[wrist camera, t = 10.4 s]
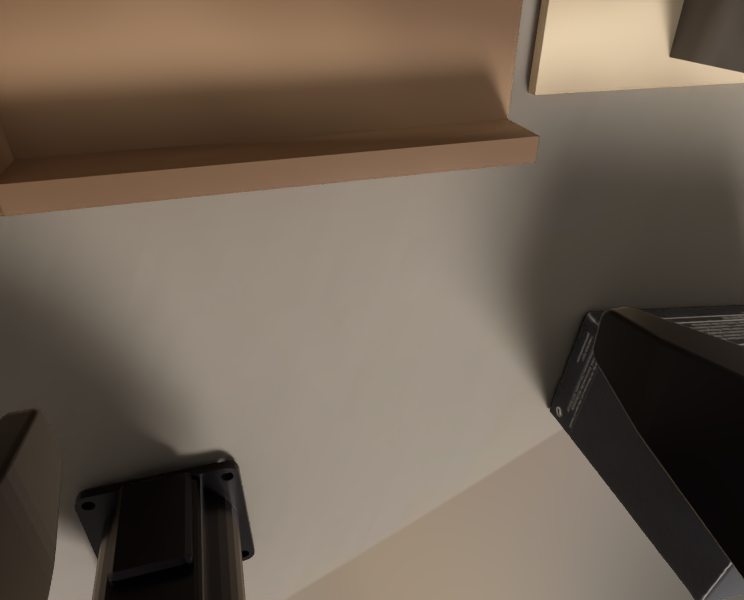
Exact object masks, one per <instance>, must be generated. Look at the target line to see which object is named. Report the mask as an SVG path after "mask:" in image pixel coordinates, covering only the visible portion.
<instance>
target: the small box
mask: <svg viewBox="0 0 744 600" xmlns="http://www.w3.org/2000/svg"><path fill="white" fill-rule="evenodd" d="M640 311H643V312H646V313H649V314H652V315H655V316H658V317H660V318H663V319H666V320H669V321H672V322H675V323H678V324H681V325H684V326H687V327H689V328H692V329H695V330H698V331H701V332H704V333H707V334H710V335H713V336H715V337H718V338H721V339H724V340H727V341H730V342H733V343H736V344H739V345H741V346H744V305H741V306H716V307H695V308H670V309H650V310H640ZM603 313H604V312H589V313H588V314H587V315H586V317H585V319H584V322H583V324H582V326H581V330H580V333H579V336H578V338H577V340H576V343H575V346H574V349H573V351H572V354H571V356H570V359H569V361H568V364H567V366H566V369H565V371H564V373H563V376H562V379H561V381H560V383H559V385H558V387H557V390H556V393H555V396H554V398H553V402H552V405H551V408H550V412H551V413H552V414H553V416H554V417H555V418H556V419H557V421H558V422H559V423H560V425H561V426H562V427H563V428H564V430H565V431H566V432H567V433H568V435H569V436H570V437H571V439H572V440H573V441H574V443H575V444H576V445H577V446H578V448H579V449H580V450H581V451H582V453H583V454H584V455H585V456H586V458H587V459H588V461H589V462H590V463H591V464H592V466H593V467H594V468H595V470H596V471H597V472H598V473H599V475H600V476H601V477H602V479H603V480H604V481H605V482H606V484H607V485H608V486H609V487H610V489H611V490H612V492H613V493H614V494H615V495H616V497H617V498H618V499H619V501H620V502H621V503H622V504H623V506H624V507H625V508H626V510H627V511H628V512H629V514H630V515H631V516H632V518H633V519H634V520H635V522H636V523H637V524H638V526H639V527H640V528H641V529H642V531H643V532H644V533H645V535H646V536H647V537H648V538H649V540H650V541H651V542H652V544H653V545H654V546H655V547H656V549H657V550H658V552H659V553H660V554H661V555H662V557H663V558H664V559H665V560H666V562H667V563H668V564H669V565H670V567H671V568H672V569H673V570H674V572H675V573H676V575H677V576H678V577H679V579H680V580H681V581H682V582H683V584H684V585H685V586H686V588H687V589H688V590H689V592H690V593H691V595H692V596H693V598H694V599H695V600H723V599H727V598H730V597H734V596H738V595H742V594H744V579H743V578H742V577H741V575H740V574H739V573H738V571H737V570H736V568H735V567H734V566H733V564H732V563H731V561H730V560H729V559H728V557H727V556H726V555H725V553H724V552H723V550H722V549H721V548H720V546H719V545H718V543H717V542H716V541H715V539H714V538H713V537H712V535H711V534H710V532H709V531H708V530H707V528H706V527H705V525H704V524H703V523H702V521H701V520H700V519H699V517H698V516H697V514H696V513H695V512H694V510H693V509H692V507H691V506H690V505H689V503H688V502H687V501H686V499H685V498H684V496H683V495H682V494H681V492H680V491H679V489H678V488H677V487H676V485H675V484H674V483H673V481H672V480H671V478H670V477H669V476H668V474H667V473H666V472H665V470H664V469H663V467H662V466H661V465H660V463H659V462H658V460H657V459H656V458H655V456H654V455H653V454H652V452H651V451H650V449H649V448H648V447H647V445H646V444H645V442H644V441H643V440H642V438H641V437H640V435H639V434H638V432H637V431H636V429H635V428H634V426H633V424H632V423H631V421H630V419H629V418H628V416H627V414H626V413H625V411H624V409H623V407H622V406H621V404H620V402H619V400H618V399H617V397H616V395H615V394H614V392H613V390H612V388H611V387H610V385H609V383H608V382H607V380H606V378H605V376H604V375H603V373H602V371H601V370H600V368H599V366H598V364H597V363H596V361H595V358H594V354H593V345H594V341H595V337H596V334H597V330H598V326H599V322H600V318H601V316H602V314H603Z"/></svg>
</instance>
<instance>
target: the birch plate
mask: <svg viewBox="0 0 744 600" xmlns="http://www.w3.org/2000/svg"><path fill="white" fill-rule="evenodd" d="M729 83H744V0H542V1H541V8H540V14H539V21H538V28H537V35H536V41H535V48H534V55H533V62H532V68H531V75H530V82H529V89H528V92H529V93H531V94H534V95H543V94H560V93H577V92H594V91H611V90H628V89H645V88H661V87H678V86H695V85H712V84H729Z"/></svg>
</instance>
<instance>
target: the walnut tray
mask: <svg viewBox="0 0 744 600" xmlns="http://www.w3.org/2000/svg"><path fill="white" fill-rule="evenodd" d="M522 2H523V0H0V217H1V216H10V215H20V214H30V213H40V212H50V211H60V210H70V209H80V208H89V207H99V206H109V205H119V204H129V203H139V202H149V201H159V200H169V199H178V198H188V197H198V196H208V195H218V194H228V193H238V192H248V191H258V190H267V189H277V188H287V187H297V186H307V185H317V184H327V183H337V182H346V181H356V180H366V179H376V178H386V177H396V176H406V175H416V174H426V173H435V172H445V171H455V170H465V169H475V168H485V167H495V166H505V165H515V164H524V163H534V162H535V160H536V153H537V147H538V141H539V136H538V135H536V134H534V133H532V132H530V131H529V130H527V129H525V128H523V127H521V126H519V125H518V124H516V123H514V122H512V121H510V120H508V115H509V107H510V99H511V91H512V83H513V75H514V67H515V59H516V51H517V43H518V35H519V27H520V18H521V10H522Z"/></svg>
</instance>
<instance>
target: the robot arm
mask: <svg viewBox="0 0 744 600" xmlns="http://www.w3.org/2000/svg"><path fill="white" fill-rule="evenodd" d="M593 354H594V358H595V361H596V363H597V364H598V366H599V368H600V370H601V371H602V373H603V375H604V376H605V378H606V380H607V382H608V383H609V385H610V387H611V388H612V390H613V392H614V394H615V395H616V397H617V399H618V400H619V402H620V404H621V406H622V407H623V409H624V411H625V413H626V414H627V416H628V418H629V419H630V421H631V423H632V424H633V426H634V428H635V429H636V431H637V432H638V434H639V435H640V437H641V438H642V440H643V441H644V442H645V444H646V445H647V447H648V448H649V449H650V451H651V452H652V454H653V455H654V456H655V458H656V459H657V460H658V462H659V463H660V465H661V466H662V467H663V469H664V470H665V472H666V473H667V474H668V476H669V477H670V478H671V480H672V481H673V483H674V484H675V485H676V487H677V488H678V489H679V491H680V492H681V494H682V495H683V496H684V498H685V499H686V501H687V502H688V503H689V505H690V506H691V507H692V509H693V510H694V512H695V513H696V514H697V516H698V517H699V519H700V520H701V521H702V523H703V524H704V525H705V527H706V528H707V530H708V531H709V532H710V534H711V535H712V537H713V538H714V539H715V541H716V542H717V543H718V545H719V546H720V548H721V549H722V550H723V552H724V553H725V555H726V556H727V557H728V559H729V560H730V561H731V563H732V564H733V566H734V567H735V568H736V570H737V571H738V573H739V574H740V575H741V577H742V578H743V579H744V346H741V345H739V344H736V343H733V342H730V341H727V340H724V339H721V338H718V337H715V336H713V335H710V334H707V333H704V332H701V331H698V330H695V329H692V328H689V327H687V326H684V325H681V324H678V323H675V322H672V321H669V320H666V319H663V318H660V317H658V316H655V315H652V314H649V313H646V312H643V311H640V310H637V309H634V308H632V307H618V308H612V309H608V310H606V311H604V313H603V314H602V316H601V318H600V322H599V326H598V330H597V334H596V337H595V341H594V345H593ZM226 472H230V473H226ZM61 475H62V454H61V450H60V447H59V445H58V442H57V440H56V438H55V435H54V433H53V431H52V428H51V426H50V424H49V422H48V419H47V417H46V415H45V413H44V412H43V411H42V410H40V409H38V408H33V409H27V410H21V411H15V412H11V413H8V414H6V415H5V416H3V417H2V418H1V419H0V600H48V595H49V591H50V586H51V580H52V575H53V569H54V561H55V552H56V540H57V527H58V514H59V501H60V488H61ZM75 510H76V512H77V514H78V517H79V519H80V521H81V523H82V525H83V528H84V530H85V532H86V534H87V537H88V539H89V541H90V543H91V546H92V548H93V550H94V552H95V554H96V557H97V559H98V562H97V569H96V576H95V582H94V589H93V596H92V600H246V599H245V587H244V576H243V564H242V561H244V560H247V559H250V558H251V557H252V556H253V555H254V543H253V538H252V533H251V528H250V523H249V517H248V512H247V507H246V502H245V497H244V491H243V486H242V481H241V476H240V471H239V466H238V464H237V463H235V462H232V461H225V462H220V463H215V464H210V465H205V466H200V467H195V468H191V469H186V470H181V471H176V472H171V473H166V474H161V475H157V476H152V477H147V478H142V479H137V480H132V481H128V482H123V483H118V484H113V485H108V486H103V487H98V488H94V489H89V490H85V491H82V492H80V493H79V494H78V495H77V497H76V502H75Z"/></svg>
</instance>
